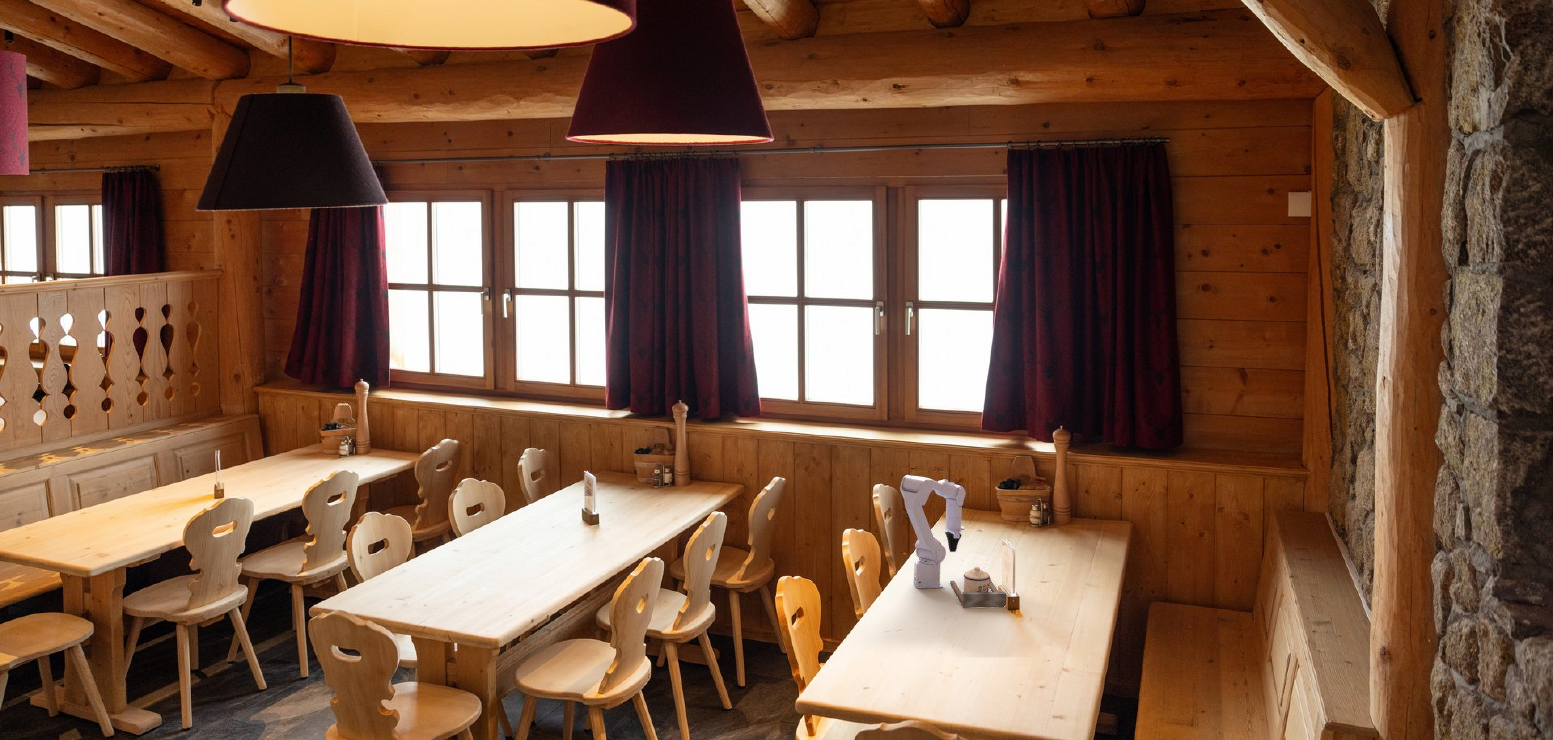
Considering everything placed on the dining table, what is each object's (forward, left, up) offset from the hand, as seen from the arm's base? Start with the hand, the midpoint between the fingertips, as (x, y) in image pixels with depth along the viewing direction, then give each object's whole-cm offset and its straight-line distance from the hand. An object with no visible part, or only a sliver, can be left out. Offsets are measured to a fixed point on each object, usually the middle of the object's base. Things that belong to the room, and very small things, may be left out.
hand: (952, 551), depth 443 cm
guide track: (+5, -21, -9) cm, 24 cm away
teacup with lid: (+5, -24, -10) cm, 27 cm away
